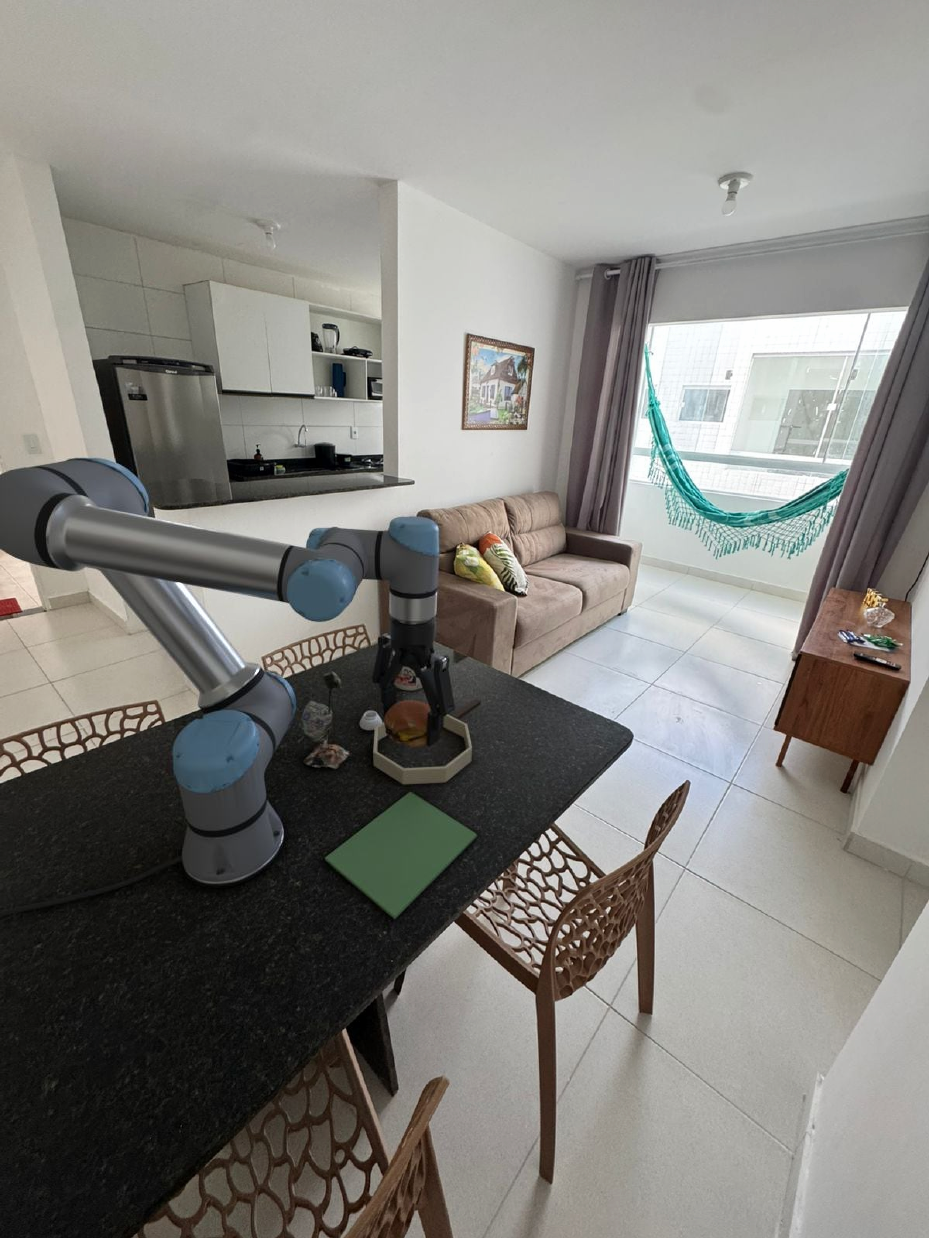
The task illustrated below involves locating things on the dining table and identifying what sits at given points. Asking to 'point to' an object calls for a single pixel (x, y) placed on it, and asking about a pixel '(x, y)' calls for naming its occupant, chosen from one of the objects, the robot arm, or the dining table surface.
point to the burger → (407, 723)
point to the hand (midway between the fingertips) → (411, 730)
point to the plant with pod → (322, 730)
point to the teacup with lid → (407, 679)
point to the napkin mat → (401, 852)
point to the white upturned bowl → (370, 720)
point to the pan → (429, 772)
